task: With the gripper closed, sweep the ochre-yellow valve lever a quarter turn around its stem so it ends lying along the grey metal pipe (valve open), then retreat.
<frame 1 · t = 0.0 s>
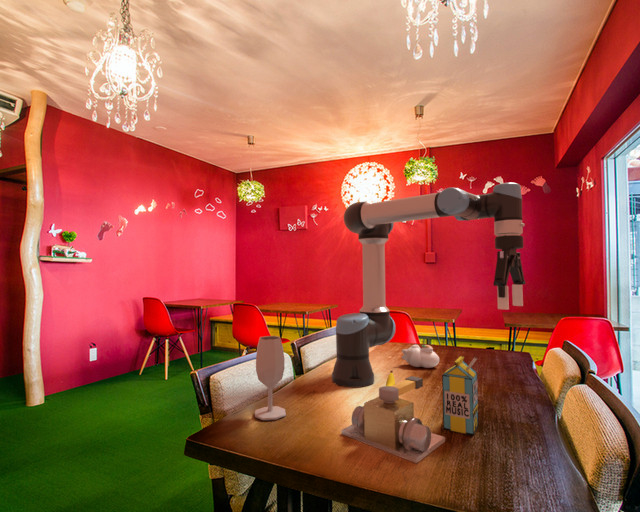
hand: (510, 307, 109), 28 cm above the table, fingers open, 13 cm apart
carton: (462, 428, 91), on the table
valve body: (389, 442, 84), on the table
lever: (401, 388, 88), point 11 cm above the table, hinge at 0.0°
banana: (388, 400, 112), on the table
wineglass: (270, 415, 101), on the table
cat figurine: (420, 367, 151), on the table
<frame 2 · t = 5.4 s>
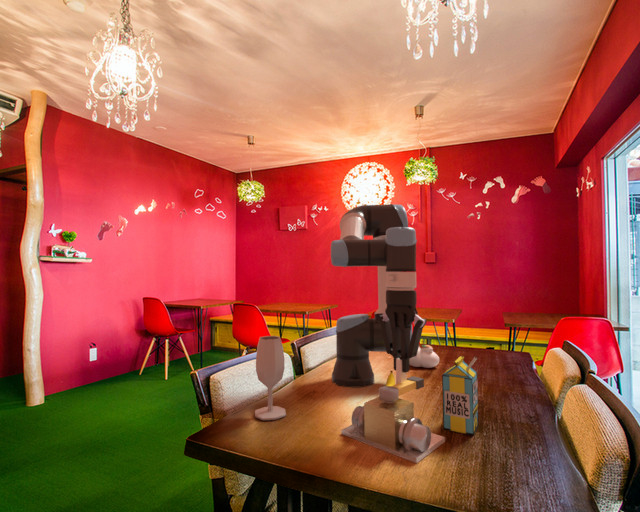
hand: (401, 384, 91), 11 cm above the table, fingers closed
lever: (401, 388, 88), point 11 cm above the table, hinge at 1.4°, touching gripper
everything else where it was.
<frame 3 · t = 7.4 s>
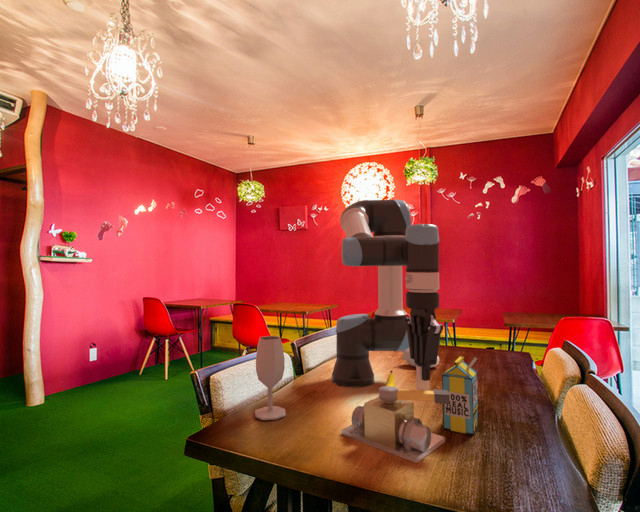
hand: (423, 393, 85), 11 cm above the table, fingers closed
lever: (413, 395, 83), point 11 cm above the table, hinge at 58.0°, touching gripper
everything else where it was.
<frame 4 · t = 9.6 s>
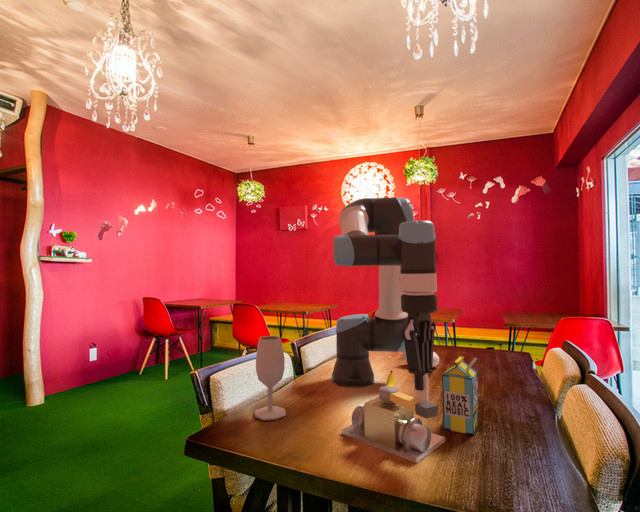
hand: (421, 404, 78), 11 cm above the table, fingers closed
lever: (405, 400, 80), point 11 cm above the table, hinge at 106.3°, touching gripper
everything else where it was.
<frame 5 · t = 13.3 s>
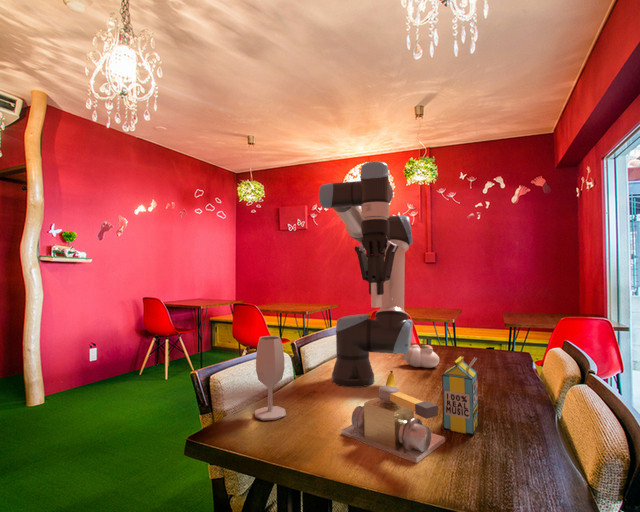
hand: (376, 307, 99), 29 cm above the table, fingers closed
lever: (405, 400, 80), point 11 cm above the table, hinge at 106.4°
everything else where it was.
at the end: lever at +106° (first picture: +0°) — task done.
